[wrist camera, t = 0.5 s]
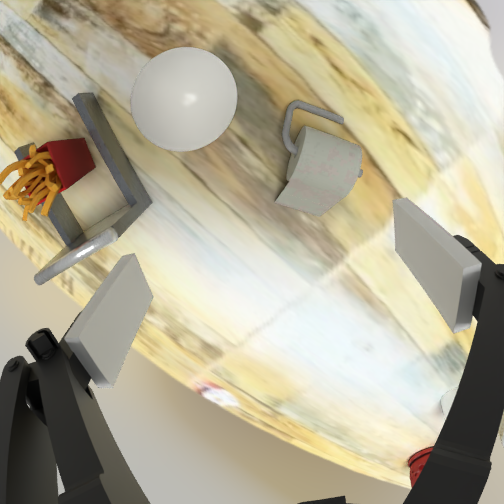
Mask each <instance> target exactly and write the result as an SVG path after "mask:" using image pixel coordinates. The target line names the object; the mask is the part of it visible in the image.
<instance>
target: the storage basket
mask: <svg viewBox="0 0 504 504" xmlns="http://www.w3.org/2000/svg"><path fill="white" fill-rule="evenodd" d="M498 433H499V436H500V440H501V441H502V442H501V443H502V445H503V447H504V412H503V416H502V419H501V423H500V427H499V430H498Z"/></svg>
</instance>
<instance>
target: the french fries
mask: <svg viewBox="0 0 504 504" xmlns="http://www.w3.org/2000/svg"><path fill="white" fill-rule="evenodd" d="M94 168H96V166H95V164H94V162H93V159H92V157H91V154H90V151H89V149H88V146H87V144H86V141H85V138H77V139H67V140H58V141H50V142H47V143H45V144H44V145H42V146H41V147H39V148H38V149H36V147H35V145H31V146H30V148H29V155H28V156H26V157H25V158H24V159H22V160H20V161H17V162H14V163H12V164H11V165H9V166H7V167H6V168H5V169H4V170H3V171H2V172H1V174H0V184H2V182H3V181H4V180H5V178H6V177H7V176H8V175H9V174H10V173H11V172H12V171H14V170H18V173H19V176H21V177H20V178H19V179H18V180H17V181H16V182H15V183H14V184H13V185H12V186H11V187H10V188H9V189H8V190H7V191H6V192H5V193H4V195H3V196H4V198H5V199H9V200H17V199H19V200H18V203H19V205H25V209H24V213H23V219H22V220H24V221H27V215H28V212H29V213H33V212H34V210H35V207H36V206H37V205H39V204H41V203H42V202H44V201H45V203H44V206H43V208H42V211H41V214H42V215H44V216H48V214H49V211H50V208H51V205H52V203H53V201H54V199H55V197H56V195H57V194H58V193H60V192H62V191H64V190H66V189H68V188H69V187H70V186H71V185H73V184H74V183H75V182H77V181H78V180H79V179H81V178H82V177H83V176H85V175H86V174H87V173H89V172H90V171H91V170H93V169H94ZM24 186H25V188H26V190H25V191H22V192H20V191H21V189H22V188H23V187H24ZM26 195H29V198H25V196H26Z"/></svg>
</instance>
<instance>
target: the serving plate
mask: <svg viewBox="0 0 504 504" xmlns="http://www.w3.org/2000/svg"><path fill="white" fill-rule="evenodd" d="M236 107H237V86H236V83H235V79H234V77H233V75H232V73H231V71H230V70H229V68H228V67H227V66H226V65H225V63H224V62H223V61H222V60H220V59H219V58H218V57H217V56H215V55H214V54H212V53H210V52H208V51H206V50H203V49H199V48H194V47H180V48H174V49H170V50H168V51H165V52H163V53H161V54H159V55H157V56H156V57H154V58H153V59H152V60H150V61H149V62H148V63H147V64H146V65H145V66H144V67H143V69H142V70H141V71H140V73H139V74H138V76H137V78H136V80H135V82H134V85H133V88H132V93H131V111H132V115H133V119H134V121H135V123H136V126H137V127H138V129H139V130H140V132H141V133H142V134H143V135H144V137H146V138H147V139H148V140H149V141H150V142H152V143H153V144H155V145H157V146H158V147H161V148H163V149H166V150H170V151H178V152H184V151H192V150H196V149H199V148H202V147H204V146H206V145H208V144H210V143H211V142H213V141H214V140H216V139H217V138H218V137H219V136H220V135H221V134H222V133H223V132H224V131H225V130H226V129H227V127H228V126H229V124H230V123H231V121H232V119H233V116H234V114H235V111H236Z"/></svg>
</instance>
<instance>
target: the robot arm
mask: <svg viewBox="0 0 504 504" xmlns="http://www.w3.org/2000/svg"><path fill="white" fill-rule="evenodd" d="M393 211H394V228H395V251H396V252H397V253H398V255H399V256H400V257H401V259H402V260H403V261H404V263H405V264H406V265H407V267H408V268H409V269H410V271H411V272H412V274H413V275H414V276H415V278H416V279H417V280H418V282H419V283H420V285H421V286H422V288H423V289H424V290H425V292H426V293H427V295H428V296H429V298H430V299H431V300H432V302H433V303H434V305H435V306H436V308H437V309H438V311H439V312H440V314H441V315H442V317H443V318H444V320H445V321H446V323H447V324H448V326H449V328H450V329H451V331H452V332H453V333H457V332H460V331H463V330H465V329H468V328H470V326H471V321H472V317H473V316H474V317H475V318H476V320H477V321H478V323H477V327H476V331H475V335H474V338H473V342H472V346H471V349H470V353H469V356H468V359H467V363H466V366H465V369H464V372H463V375H462V378H461V381H460V384H459V387H458V390H457V392H456V395H455V398H454V400H453V403H452V406H451V408H450V411H449V413H448V416H447V418H446V420H445V423H444V425H443V428H442V430H441V432H440V434H439V437H438V439H437V441H436V443H435V445H434V447H433V449H432V451H431V453H430V455H429V457H428V459H427V461H426V463H425V465H424V467H423V469H422V471H421V473H420V475H419V477H418V478H417V480H416V482H415V484H414V486H413V487H412V489H411V491H410V493H409V494H408V496H407V498H406V499H405V501H404V503H403V504H477V503H478V501H479V499H480V496H481V494H482V492H483V489H484V487H485V484H486V482H487V479H488V476H489V473H490V470H491V465H492V463H491V462H490V456H491V453H492V450H493V446H494V443H495V440H496V437H497V434H498V430H499V427H500V423H501V419H502V416H503V412H504V264H497V265H496V264H495V263H494V262H493V261H492V260H490V259H489V258H488V257H487V256H486V255H485V254H484V253H483V252H482V251H480V249H478V248H477V247H476V246H475V245H474V244H473V243H472V242H471V241H469V240H468V239H466V238H464V237H462V236H460V235H455V236H452V235H451V234H450V233H448V232H447V231H446V230H445V229H444V228H443V227H442V226H440V225H439V224H438V223H437V222H436V221H435V220H433V219H432V218H431V217H430V216H429V215H427V214H426V213H425V212H424V211H423V210H421V209H420V208H419V207H418V206H417V205H415V204H414V203H413V202H412V201H410V200H409V199H408V198H401V199H396V200H393ZM152 299H153V295H152V292H151V290H150V288H149V286H148V283H147V281H146V279H145V276H144V274H143V272H142V269H141V267H140V265H139V262H138V260H137V257H136V255H135V253H133V254H129V255H124V256H122V257H121V259H120V260H119V261H118V263H117V264H116V265H115V267H114V268H113V269H112V271H111V272H110V273H109V275H108V276H107V277H106V279H105V280H104V281H103V283H102V284H101V285H100V287H99V288H98V290H97V291H96V292H95V294H94V295H93V297H92V298H91V299H90V301H89V302H88V304H87V305H86V307H85V308H84V309H83V310H82V311H81V312H80V313H79V314H78V316H77V317H76V318H75V320H74V322H73V323H72V324H71V326H70V328H69V329H68V330H67V332H66V333H65V335H64V336H63V338H62V339H61V341H60V342H59V343H58V341H57V340H56V338H55V337H54V335H53V334H52V332H51V330H50V329H49V328H43V329H40V330H38V331H36V332H35V333H34V334H32V335H31V336H30V337H29V338H28V340H27V342H26V345H25V346H26V347H27V349H28V350H29V352H30V353H31V354H32V356H33V357H34V359H35V360H36V362H33V363H30V364H28V363H27V361H26V360H25V359H24V357H23V356H17V357H14V358H12V359H10V360H9V361H8V362H7V364H6V365H5V367H4V369H3V372H2V376H1V379H0V504H150V502H149V501H148V499H147V497H146V496H145V494H144V493H143V491H142V489H141V487H140V486H139V484H138V483H137V481H136V479H135V477H134V476H133V474H132V472H131V470H130V468H129V467H128V465H127V463H126V461H125V459H124V457H123V455H122V453H121V451H120V450H119V448H118V446H117V444H116V442H115V440H114V438H113V436H112V434H111V431H110V430H109V427H108V425H107V423H106V421H105V419H104V416H103V414H102V412H101V410H100V407H99V405H98V403H97V400H96V398H95V396H94V393H93V391H92V389H91V388H90V387H89V386H88V384H89V382H90V379H92V380H93V381H94V383H95V384H96V385H97V387H98V388H113V386H114V383H115V381H116V379H117V377H118V374H119V372H120V370H121V367H122V365H123V363H124V360H125V358H126V355H127V353H128V351H129V349H130V347H131V344H132V342H133V340H134V338H135V336H136V333H137V331H138V329H139V327H140V325H141V322H142V320H143V318H144V316H145V314H146V312H147V310H148V307H149V305H150V303H151V301H152ZM27 404H28V405H29V406H30V408H29V407H28V405H27ZM56 463H57V465H56ZM56 466H58V470H59V473H60V476H61V479H62V482H63V485H64V488H65V492H64V493H62V494H60V495H59V497H58V486H57V468H56ZM298 504H351V503H346V499H345V496H340V497H335V498H328V499H322V500H315V501H307V502H301V503H298Z"/></svg>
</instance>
